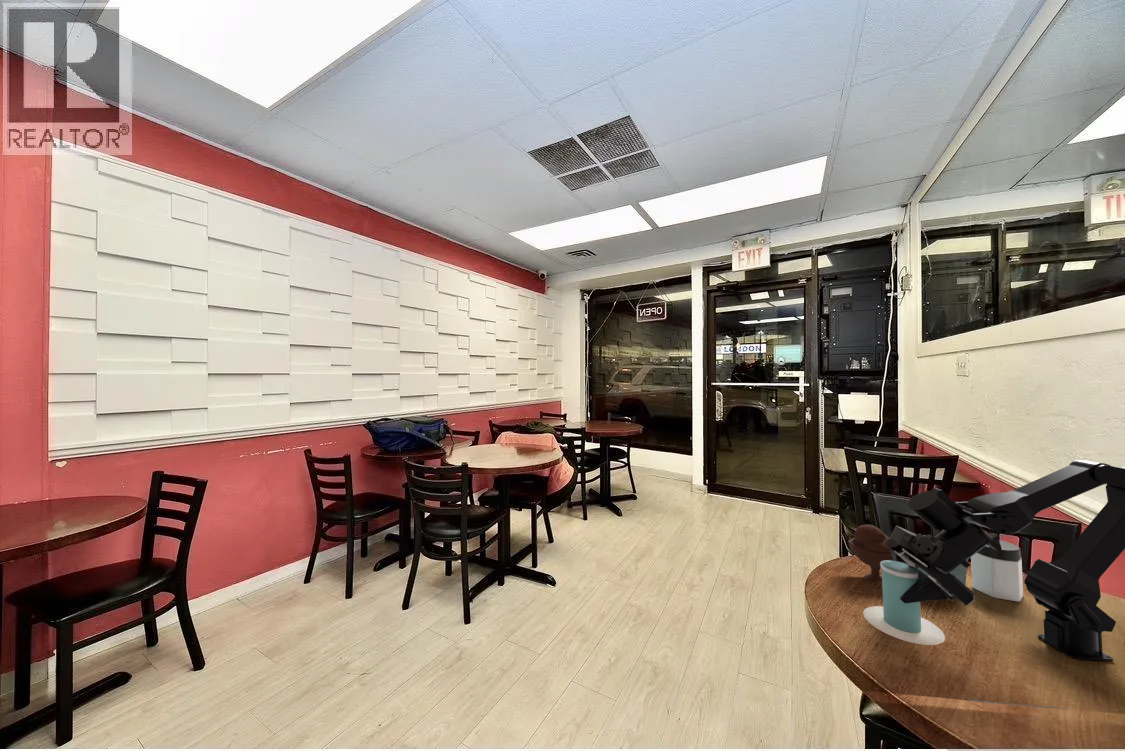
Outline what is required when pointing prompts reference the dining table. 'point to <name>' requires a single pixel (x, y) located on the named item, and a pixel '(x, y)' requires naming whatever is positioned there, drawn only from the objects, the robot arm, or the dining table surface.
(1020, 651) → the dining table surface
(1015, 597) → the jar
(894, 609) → the teal canister
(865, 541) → the ice cream bowl
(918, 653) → the dining table surface
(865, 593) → the dining table surface
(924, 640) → the cream saucer
